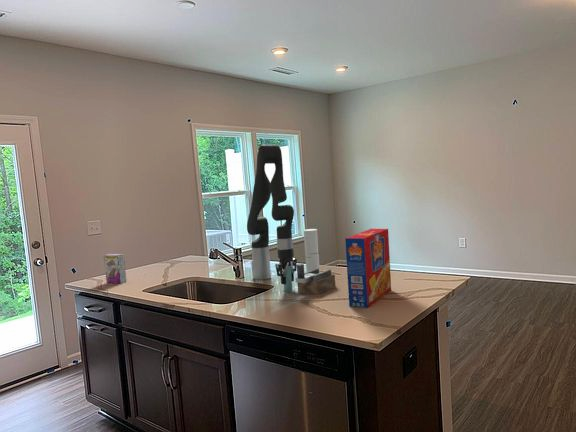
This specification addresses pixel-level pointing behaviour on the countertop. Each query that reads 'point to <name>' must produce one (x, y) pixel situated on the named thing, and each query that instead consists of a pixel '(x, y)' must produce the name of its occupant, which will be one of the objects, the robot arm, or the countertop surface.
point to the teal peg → (288, 280)
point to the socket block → (318, 282)
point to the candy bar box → (115, 268)
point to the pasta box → (368, 267)
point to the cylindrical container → (311, 249)
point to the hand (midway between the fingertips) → (287, 282)
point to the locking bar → (301, 276)
